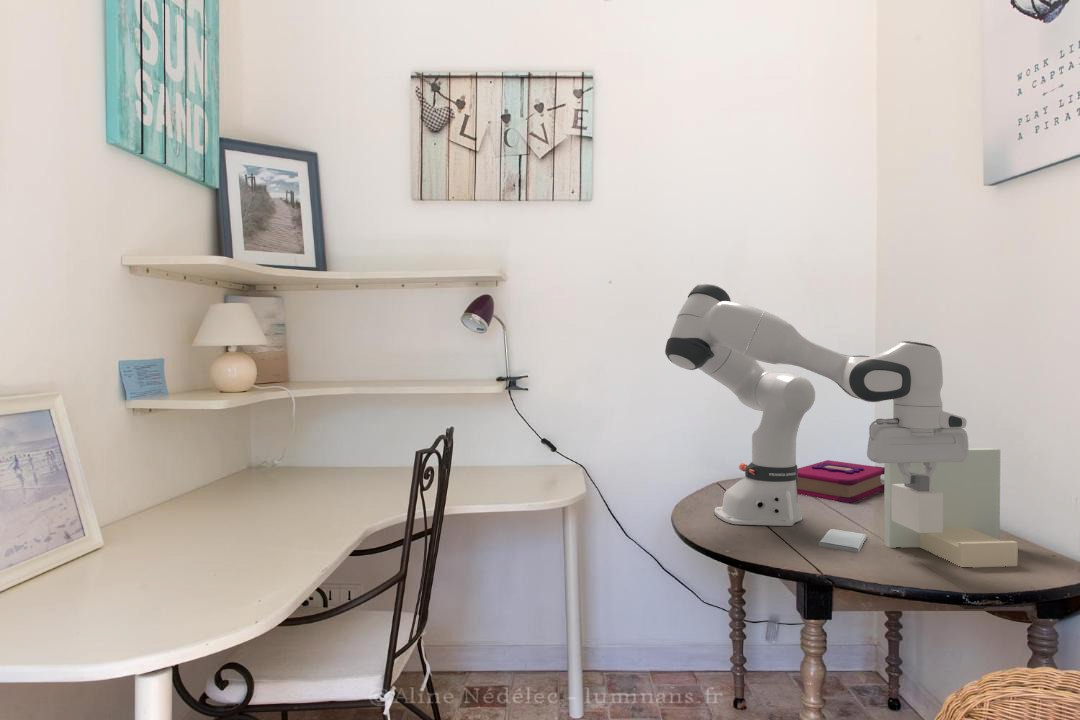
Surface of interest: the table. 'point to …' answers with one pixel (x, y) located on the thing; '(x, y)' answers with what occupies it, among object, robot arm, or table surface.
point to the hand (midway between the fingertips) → (916, 483)
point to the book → (839, 481)
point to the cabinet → (917, 505)
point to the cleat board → (958, 512)
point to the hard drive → (843, 540)
